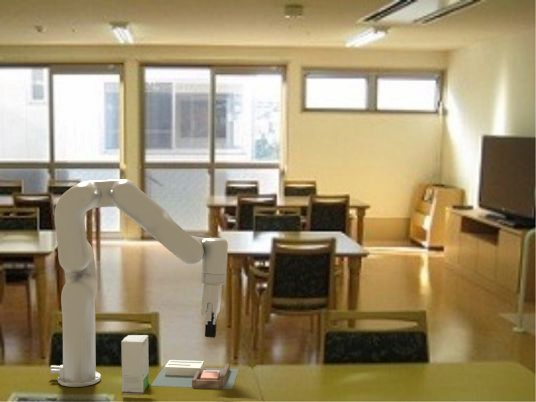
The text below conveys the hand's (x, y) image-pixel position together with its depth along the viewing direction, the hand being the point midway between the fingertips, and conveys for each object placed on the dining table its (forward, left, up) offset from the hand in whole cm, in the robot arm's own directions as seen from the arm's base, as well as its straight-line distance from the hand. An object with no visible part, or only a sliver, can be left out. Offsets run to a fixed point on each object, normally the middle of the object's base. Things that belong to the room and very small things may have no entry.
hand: (210, 336), depth 216 cm
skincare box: (-20, -15, -13) cm, 28 cm away
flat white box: (-8, 0, -11) cm, 14 cm away
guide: (+1, -5, -11) cm, 13 cm away
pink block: (+1, -9, -11) cm, 14 cm away
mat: (-3, -5, -12) cm, 14 cm away
